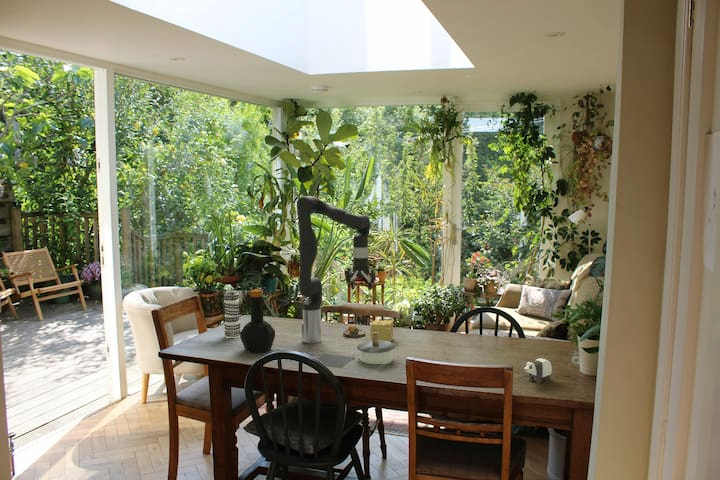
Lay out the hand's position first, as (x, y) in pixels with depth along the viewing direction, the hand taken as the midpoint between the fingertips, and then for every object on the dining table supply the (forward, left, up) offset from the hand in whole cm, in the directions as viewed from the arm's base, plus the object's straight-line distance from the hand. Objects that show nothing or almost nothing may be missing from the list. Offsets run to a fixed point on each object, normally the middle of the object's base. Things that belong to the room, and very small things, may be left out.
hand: (361, 289), depth 277 cm
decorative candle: (-75, -1, -30) cm, 81 cm away
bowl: (+12, -13, -30) cm, 35 cm away
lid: (+12, -13, -24) cm, 30 cm away
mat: (-6, -22, -30) cm, 38 cm away
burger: (-14, +23, -31) cm, 41 cm away
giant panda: (+84, -17, -30) cm, 91 cm away
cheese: (+4, +17, -30) cm, 35 cm away
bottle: (-49, -17, -30) cm, 60 cm away
